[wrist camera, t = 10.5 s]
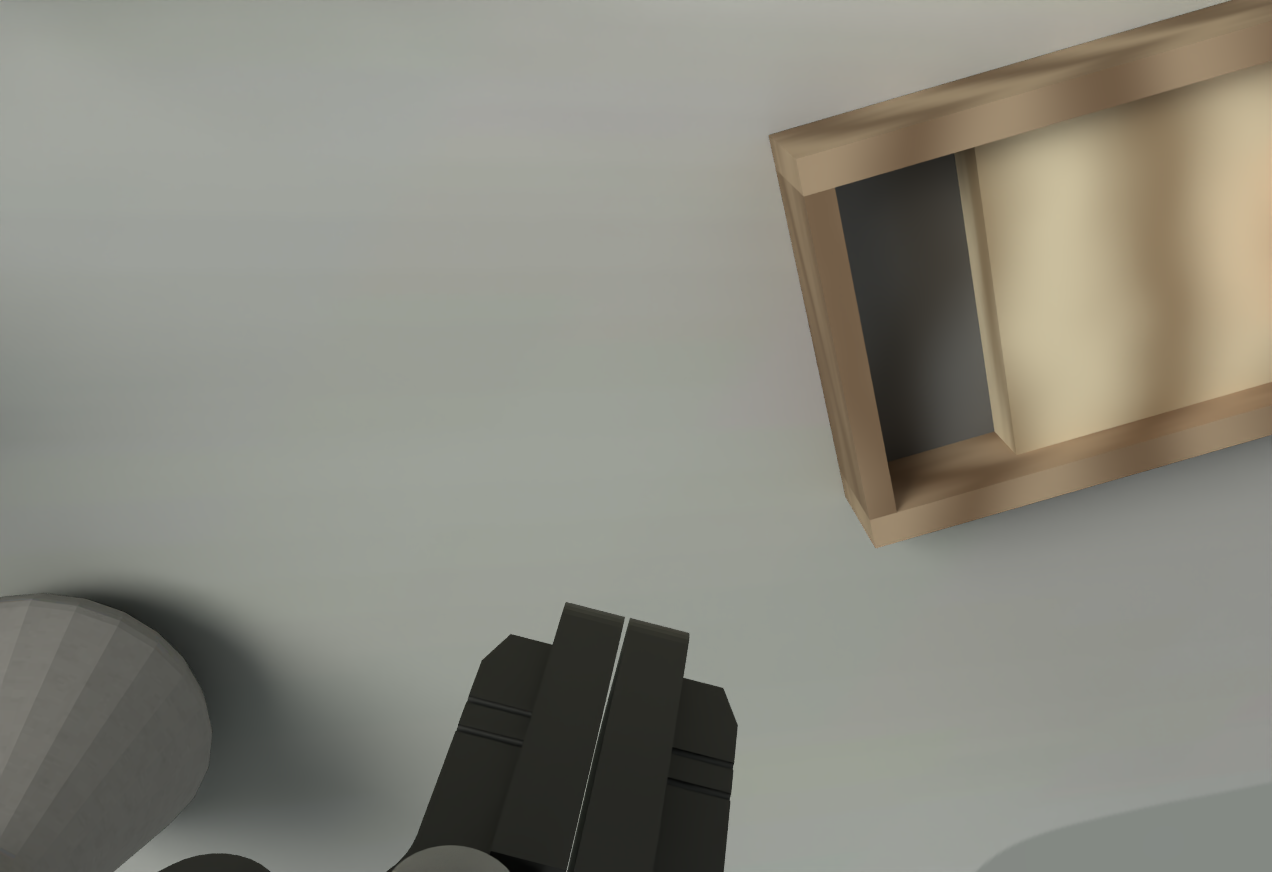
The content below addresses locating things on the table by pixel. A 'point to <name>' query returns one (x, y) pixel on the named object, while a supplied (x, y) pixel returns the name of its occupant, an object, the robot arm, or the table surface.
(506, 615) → the table surface
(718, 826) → the robot arm
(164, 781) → the coffee pot
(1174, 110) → the trough
